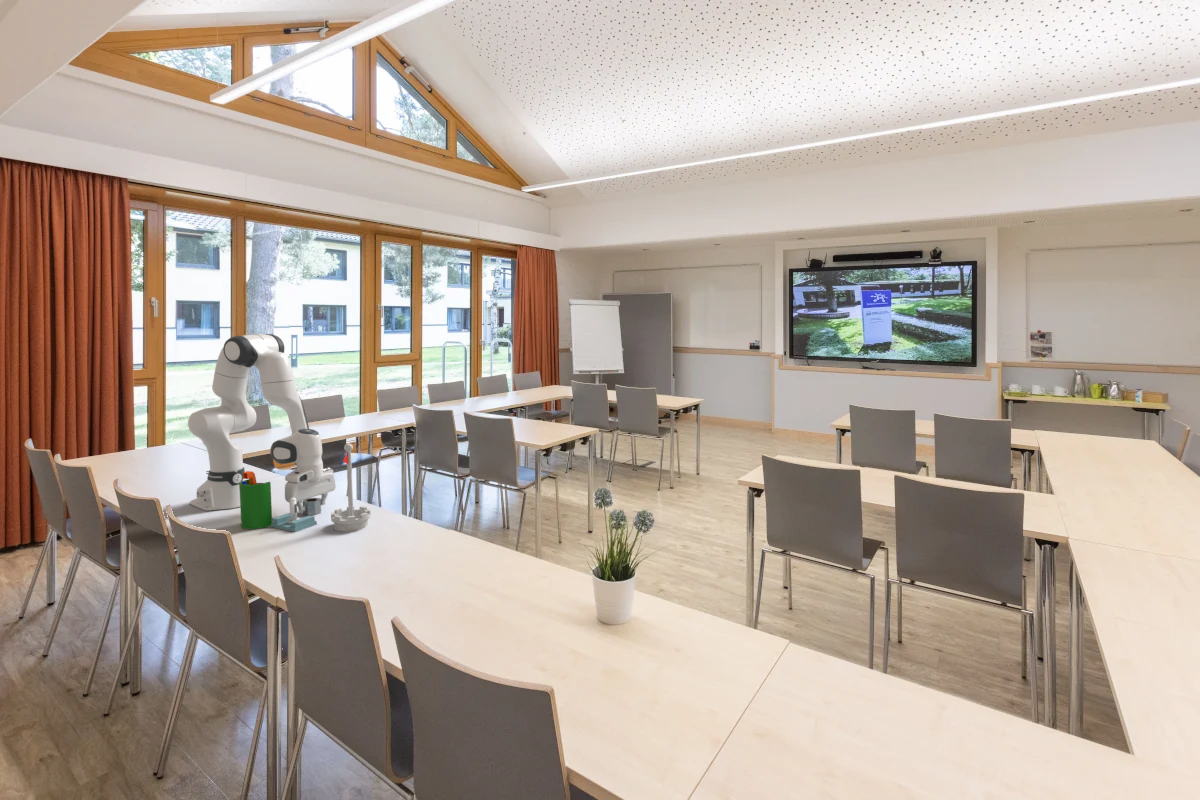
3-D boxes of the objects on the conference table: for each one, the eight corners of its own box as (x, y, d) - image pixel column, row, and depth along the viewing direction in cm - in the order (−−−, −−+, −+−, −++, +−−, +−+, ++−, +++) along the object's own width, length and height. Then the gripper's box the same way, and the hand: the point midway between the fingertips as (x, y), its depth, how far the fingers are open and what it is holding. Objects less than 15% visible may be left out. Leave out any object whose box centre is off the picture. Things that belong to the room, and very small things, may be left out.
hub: (299, 514, 232) (299, 501, 231) (313, 509, 238) (312, 497, 237) (311, 516, 230) (310, 503, 229) (324, 511, 235) (323, 499, 234)
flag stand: (340, 519, 227) (337, 439, 223) (376, 520, 227) (373, 440, 223) (325, 532, 214) (321, 447, 210) (363, 532, 214) (359, 447, 210)
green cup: (277, 521, 223) (275, 467, 220) (262, 530, 214) (258, 474, 212) (251, 520, 224) (248, 466, 221) (234, 528, 215) (231, 472, 213)
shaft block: (271, 526, 218) (269, 498, 216) (292, 519, 226) (291, 492, 225) (295, 532, 213) (293, 503, 212) (316, 524, 221) (315, 496, 220)
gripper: (326, 465, 242) (328, 499, 244) (280, 477, 224) (283, 514, 225) (338, 467, 239) (340, 501, 241) (293, 479, 221) (295, 516, 223)
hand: (312, 508), depth 233 cm, fingers open, 8 cm apart
